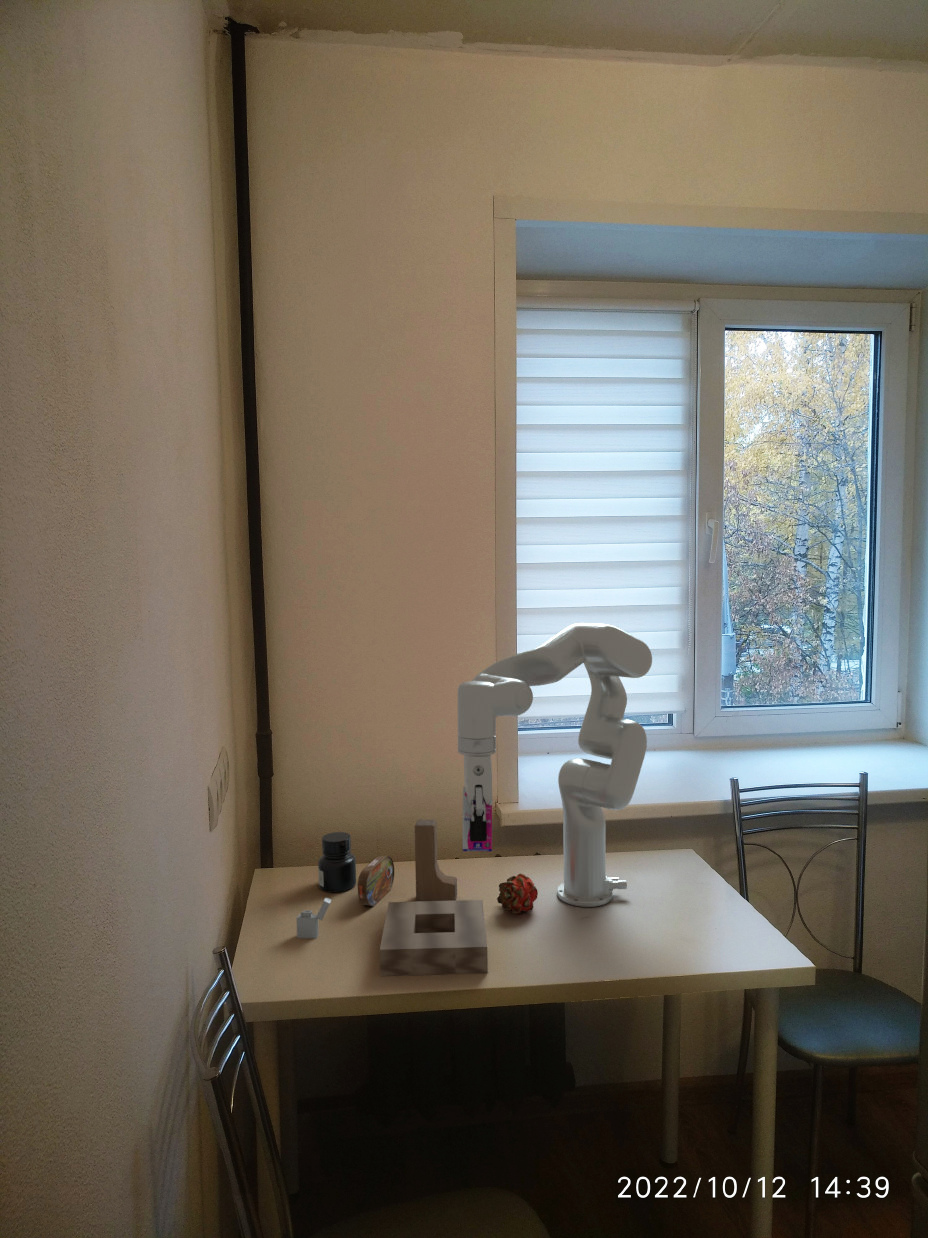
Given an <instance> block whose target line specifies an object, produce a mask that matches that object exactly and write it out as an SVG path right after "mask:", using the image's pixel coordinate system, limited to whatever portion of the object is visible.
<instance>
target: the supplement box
mask: <svg viewBox="0 0 928 1238" xmlns="http://www.w3.org/2000/svg"><path fill="white" fill-rule="evenodd" d="M482 803H483V801H482ZM473 804H476V801H473ZM489 805H490V804H488V805H487V804H486V801H485V813H486V820H487V840H486V841H470V820H471V806H469V805H468V802H467V795H466V791H465V786H463V787H462V852H490V853H491V852H492V851H493V804H492V805H491V806H489ZM475 810H476V808H474V811H475Z"/></svg>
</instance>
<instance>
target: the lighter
mask: <svg viewBox="0 0 928 1238" xmlns="http://www.w3.org/2000/svg"><path fill="white" fill-rule="evenodd" d="M331 902H332V899H330V898H328V897H324V899H323V902H322V904H321V906H320V908H319V910H318V913H314V914H313V910H311V909H310V910H309V909H307V910H306V909H305V910H303V911H301V912H300V913H298V914H297V916H296V919H295V920H296V938H297V939H317V938H319V937H318V936H319V920H320V921H323V919H324V917H325V915H326V914H327V911H328V908H329V907H330V905H331Z"/></svg>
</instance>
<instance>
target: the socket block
mask: <svg viewBox="0 0 928 1238" xmlns="http://www.w3.org/2000/svg"><path fill="white" fill-rule="evenodd" d="M387 903H388V904H387V909H386V913H385V918H384V924H383V929H382V934H381V935H382V936H381V940H380V941H381V942H380V946H379V971H380V972H379V973H380V974H379V975H380V976H381V977H384V976H385V977H386V976H420V975H423V976H424V975H456V974H457V975H459V974H460V975H461V974H488V973H489V971H488V970H489V969H488V967H489V964H488V963H489V962H488V960H489V959H488V955H489V954H488V939H487V931H486V919H485V914H484V912H485V910H484V900H483V899H463V900H461V899H460V900H456V901H417V902H416V901H389V902H387Z"/></svg>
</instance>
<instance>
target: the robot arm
mask: <svg viewBox="0 0 928 1238" xmlns="http://www.w3.org/2000/svg"><path fill="white" fill-rule="evenodd" d="M652 664H653V656H652V652H651V650H650V648H649V646H648V644H647V643H645V642H644V641H643V640H641V639H639V638H637V637H636V636H634V635H632V634H630V633H628V632H626V631H624V630H623V629H620V628H618V627H616V626H614V625H611V624H605V623H587V622H585V623H584V622H580V623H579V622H578V623H574V624H571V625H569V626H567V627H566V628H564V629H563V630H561V631H559V632H558V633H556V634H555V635H554V636H552V637H551V638H550V639H548V640H547V641H545V642H543V643H542V644H540V645H539V646H537V647H536V648H533V649H529V650H526V651H523V652H521V653H518V654H516V655H512V656H509V657H505V658H503V659H501V660H499V661H496V662H494V663H492V664H490V665H489V666H488V667H486V668H485V669H482V671H480V672H479V673H478V674H477V675H475V677H474V678H472V680H469V681H465V682H461V683H460V684H459V685H458V688H457V753H458V754H459V755H462V756H463V777H464V779H463V780H464V787H465V791H466V795H467V802H468V805H469V806H471V820H470V841H486V840H487V820H486V813H485V801H486V804H487V805H488V804H490V805H489V806H491V805H492V806H493V805H494V804H493V803H494V802H493V801H494V800H493V768H492V765H493V763H492V755H494V754H496V753H497V729H496V728H497V717H518V716H521V715H523V714H525V713H527V711H529V709H530V707H531V706H532V704H533V701H534V694H533V690H532V688H531V687H538V686H545V685H549V684H554V683H557V682H559V681H561V680H562V679H564V678H565V677H566V676H568V675H569V674H570V673H572V672H574V670H576V669H577V668H578V667H580V666H581V665H584V667H585V669H586V671H587V675H588V679H589V681H590V686H591V687H590V688H591V692H590V697H589V702H588V704H587V707H586V710H585V714H584V717H583V721H582V724H581V727H580V730H579V732H578V746H579V748H580V750H582V752H584V753H586V754H588V755H591V756H595V757H599V758H602V759H607V760H611V761H610V764H608V763H603V762H602V761H601V762H600V761H596V760H592V759H587V758H581V757H580V758H577V757H576V758H572V759H569V760H567V761H566V762H564V763H563V764H562V765H561V767H560V769H559V772H558V779H557V780H558V781H557V783H558V789H559V793H560V798H561V805H562V806H561V807H562V819H563V820H562V823H563V824H562V825H563V829H562V830H563V831H562V833H563V840H562V841H563V882H562V883H560V884H559V885H558V886H557V889H556V894H557V897H558V899H560V900H561V901H562V902H564V903H566V904H569V905H572V906H576V907H583V908H593V907H595V908H596V907H600V906H604V905H606V904H608V903H609V902H611V901H612V899H613V896H614V895H613V891H614V890H627V889H628V884H627V880H625V879H624V880H620V879H619V878H620V877H618V876H617V877H615V876H614V877H613V876H612V877H609V876H607V874H606V870H607V869H606V868H607V867H606V864H607V863H606V859H607V857H606V856H607V855H606V818H605V814H604V811H603V809H602V808H604V809H607V810H612V811H621V810H624V809H625V808H627V806H628V805H629V804H630V802H631V801H632V798H633V797H634V793H635V790H636V786H637V783H638V780H639V777H640V773H641V770H642V766H643V763H644V759H645V756H646V753H647V747H648V738H647V733H646V730H645V728H644V726H642V725H641V724H640V722H637V721H635V720H631V719H627V718H624V715H625V712H626V708H627V704H628V697H627V692H626V689H625V686H624V684H623V682H622V681H621V678H628V679H629V678H630V679H639V678H642V677H644V676H646V675H647V674H648V673H649V671H650V669H651V667H652ZM473 801H476V804H473ZM482 801H483V803H482ZM474 808H476V810H475V811H474Z"/></svg>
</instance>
